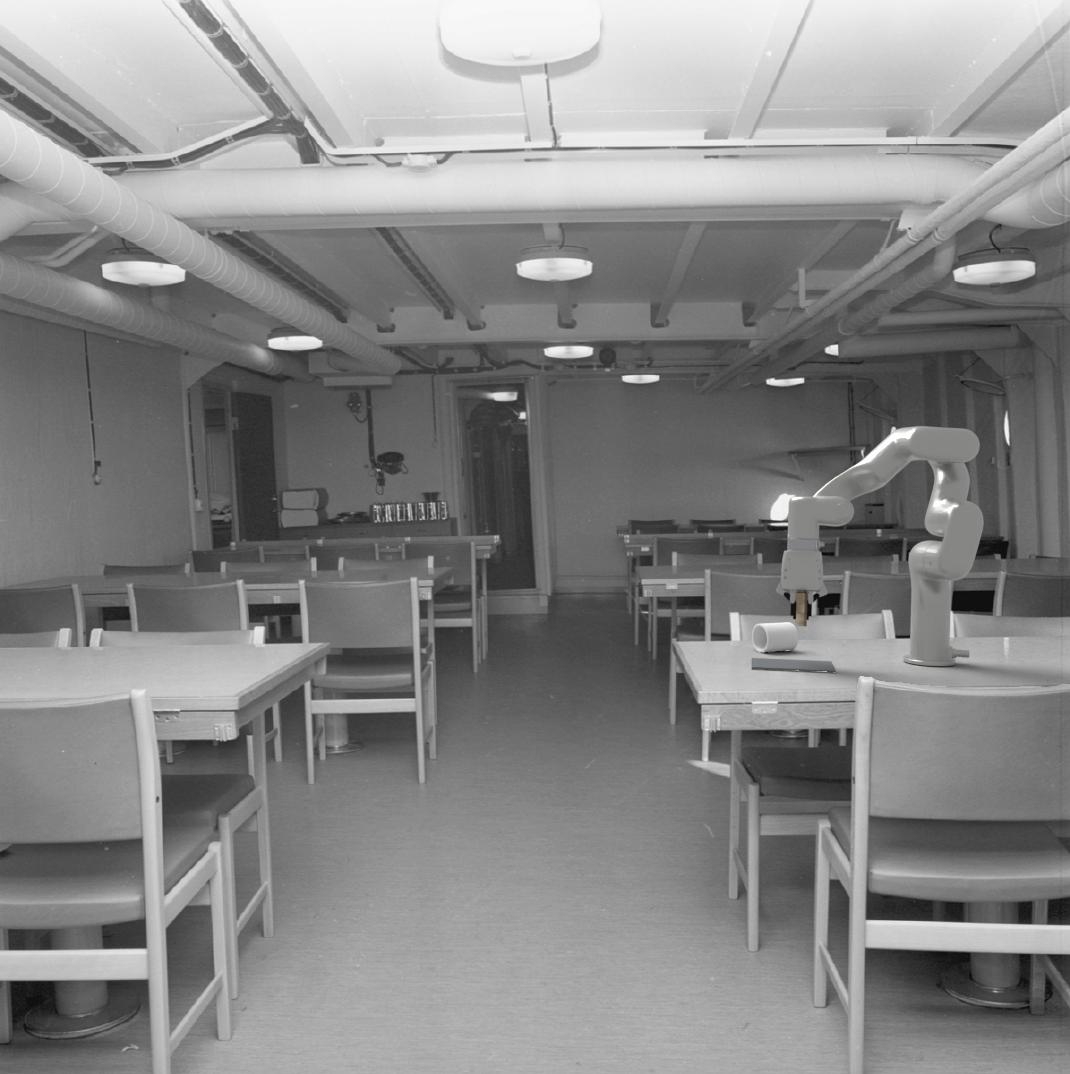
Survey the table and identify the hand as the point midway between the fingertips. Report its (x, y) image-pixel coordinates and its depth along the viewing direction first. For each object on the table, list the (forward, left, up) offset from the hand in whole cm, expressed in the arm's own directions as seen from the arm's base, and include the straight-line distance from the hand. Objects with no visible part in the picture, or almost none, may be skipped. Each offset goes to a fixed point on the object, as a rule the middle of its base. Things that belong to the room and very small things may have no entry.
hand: (800, 618), depth 250 cm
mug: (+7, -25, -13) cm, 29 cm away
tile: (0, 0, -1) cm, 1 cm away
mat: (+2, 0, -12) cm, 12 cm away
